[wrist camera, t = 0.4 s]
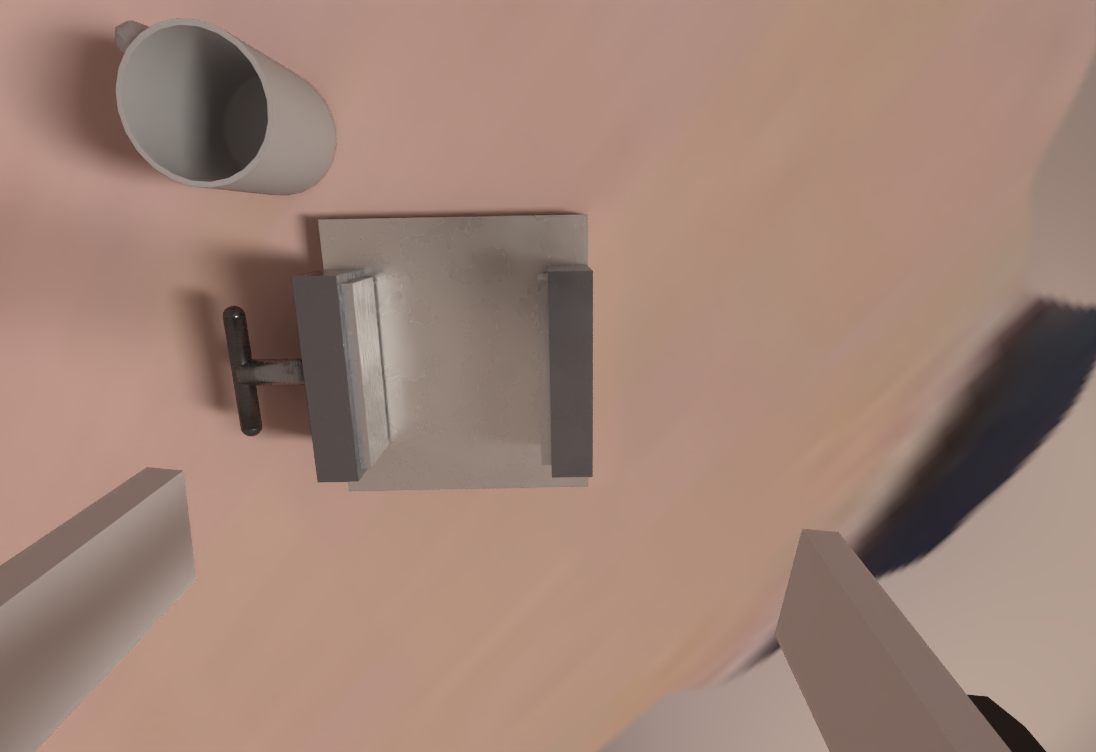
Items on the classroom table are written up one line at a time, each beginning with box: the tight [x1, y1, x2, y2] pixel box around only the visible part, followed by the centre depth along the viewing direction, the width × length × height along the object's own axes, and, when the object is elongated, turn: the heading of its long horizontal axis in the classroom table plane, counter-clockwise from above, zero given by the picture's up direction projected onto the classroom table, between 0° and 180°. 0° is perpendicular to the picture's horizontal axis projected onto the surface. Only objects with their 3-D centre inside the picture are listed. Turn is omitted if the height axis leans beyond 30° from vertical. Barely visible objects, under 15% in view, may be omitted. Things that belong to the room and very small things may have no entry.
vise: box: [223, 214, 593, 491], centre depth 36 cm, size 18×22×6 cm
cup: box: [115, 18, 336, 195], centre depth 31 cm, size 7×10×9 cm
